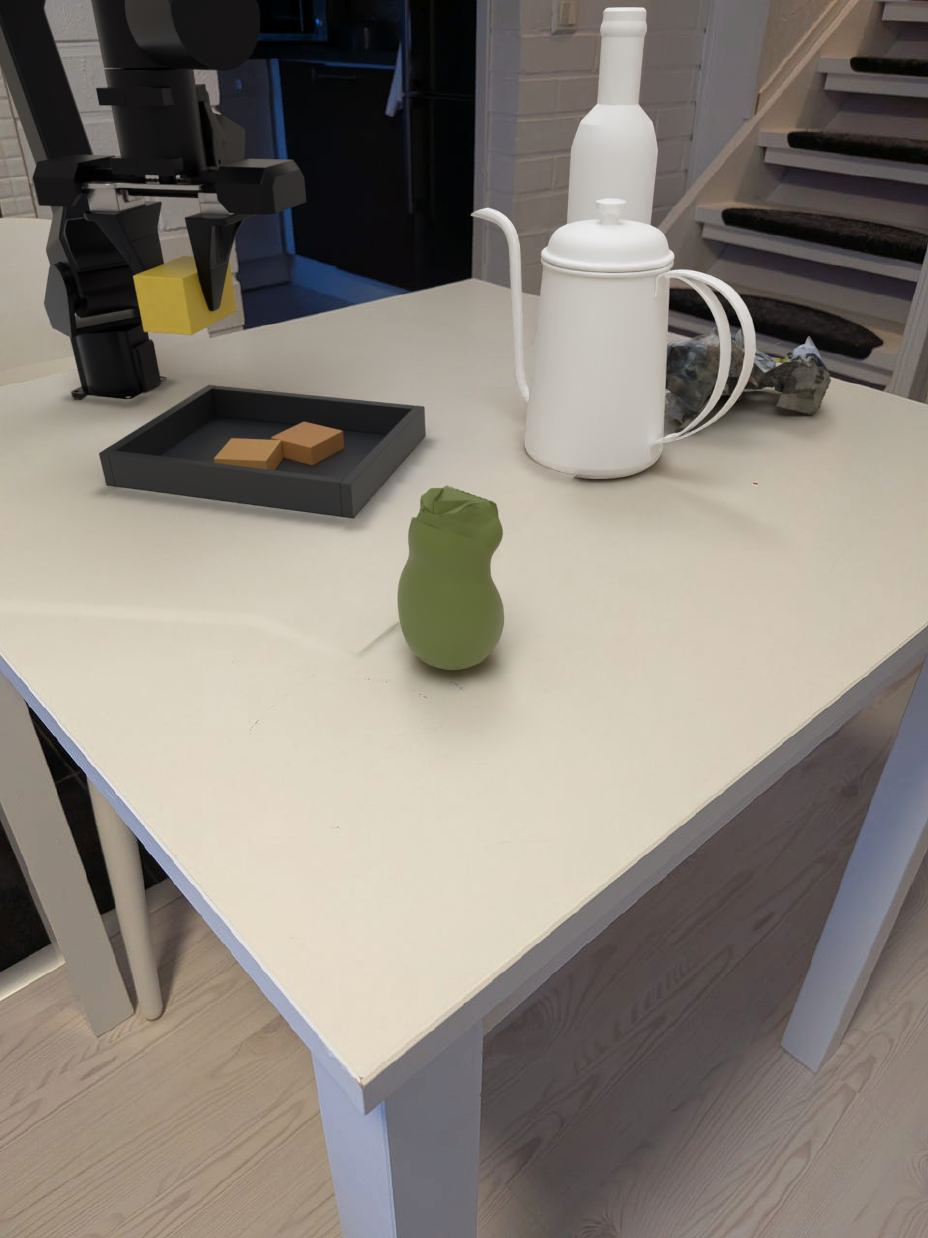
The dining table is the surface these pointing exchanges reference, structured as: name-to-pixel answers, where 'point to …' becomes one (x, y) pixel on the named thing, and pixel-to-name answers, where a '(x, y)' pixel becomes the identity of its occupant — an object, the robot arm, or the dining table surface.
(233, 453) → the block
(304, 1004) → the dining table surface
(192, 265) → the sponge
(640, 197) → the bottle
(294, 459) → the block
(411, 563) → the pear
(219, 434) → the pan
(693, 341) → the foil
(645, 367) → the coffeepot
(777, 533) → the dining table surface
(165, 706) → the dining table surface
